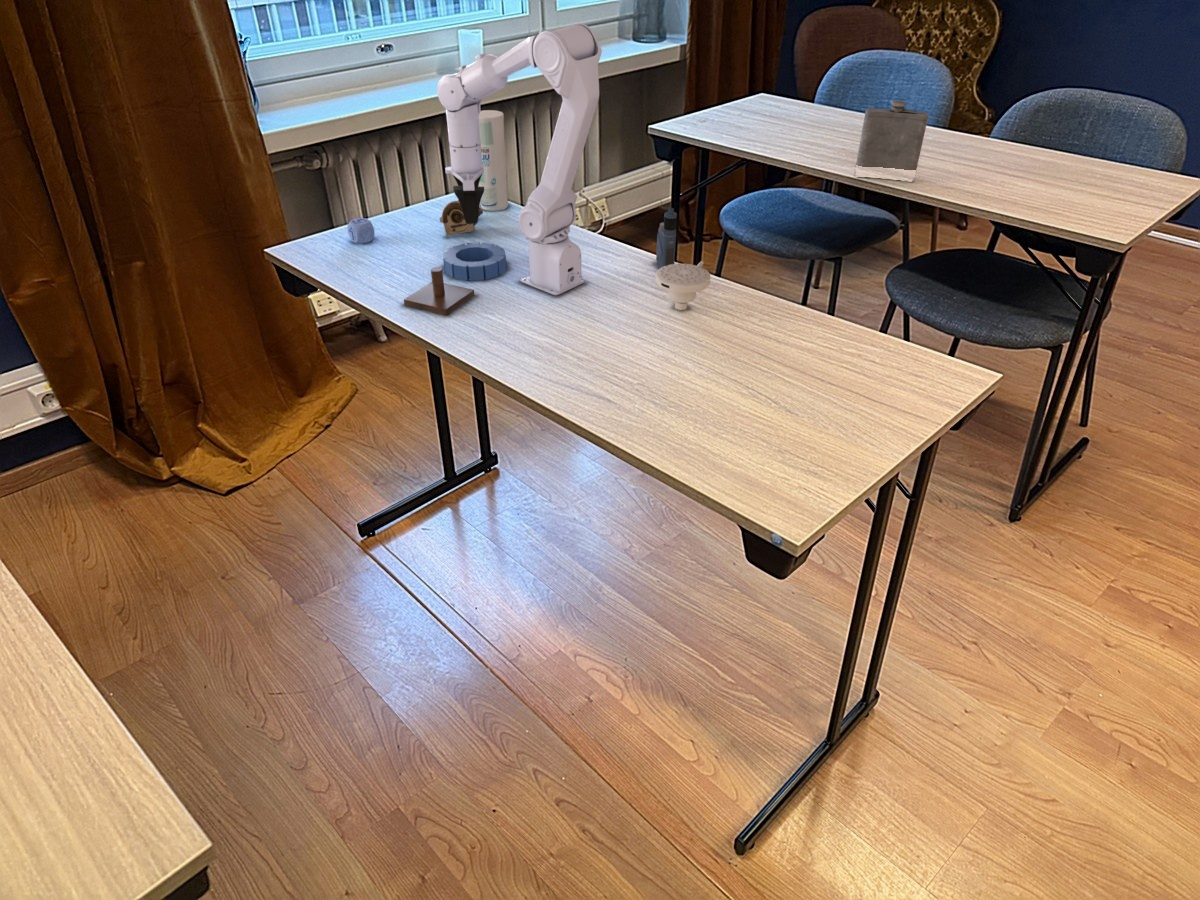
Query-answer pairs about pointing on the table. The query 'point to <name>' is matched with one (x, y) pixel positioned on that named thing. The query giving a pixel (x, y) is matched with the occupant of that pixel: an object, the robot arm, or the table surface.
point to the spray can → (493, 160)
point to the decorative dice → (361, 230)
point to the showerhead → (683, 282)
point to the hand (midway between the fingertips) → (471, 215)
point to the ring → (486, 268)
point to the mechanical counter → (455, 219)
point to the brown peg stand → (439, 295)
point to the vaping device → (666, 239)
